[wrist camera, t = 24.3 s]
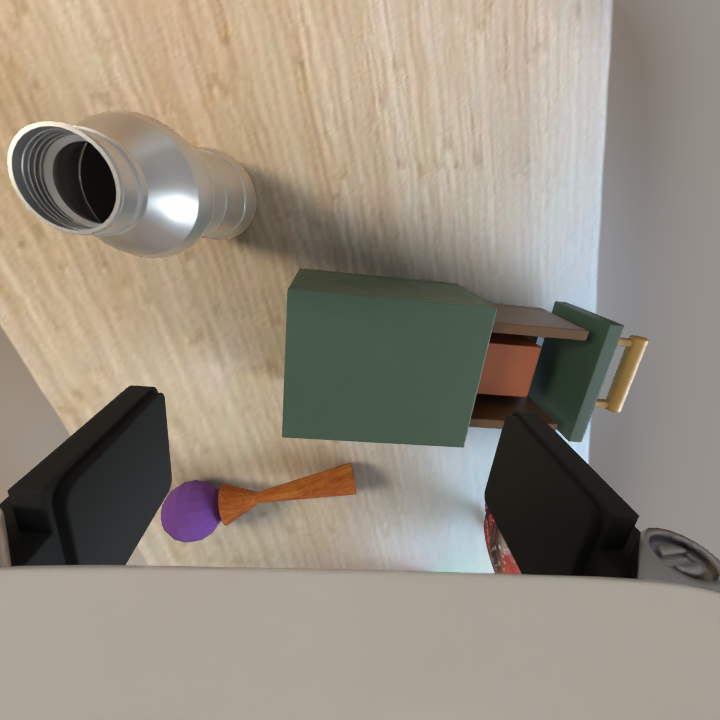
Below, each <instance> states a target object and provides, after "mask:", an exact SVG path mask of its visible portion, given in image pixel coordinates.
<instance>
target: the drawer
mask: <svg viewBox="0 0 720 720" xmlns="http://www.w3.org/2000/svg"><path fill="white" fill-rule="evenodd" d="M489 304H491V305H492V306H494V307H496V308H497V311H496V316H495V320H494V324H493V328H492V332H493V333H504V334H516V335H523V336H525V337H526V338H528V339H529V340H531V341H532V342H534V343H535V344H536V341H537V338H538V336H539V337H545V338H544V341H543V345H542V348H541V352H540V355H539V358H538V362H537V365H536V368H535V372H534V375H533V379H532V382H531V385H530V389H529V392H528V395H527V397H518V396H504V395H490V394H476V399H475V403H474V407H473V411H472V415H471V419H470V424H469V427H482V428H498V429H502V428H503V425H504V421H505V418H506V417H507V416H511V414H512V413H513V412H514V411H523V412H536V413H537V414H538V415H539V416H540V417H541V418H542V419H543V420H544V421H545V422H546V423H547V424H548V425H549V426H550V427H551V428H552V429H553V430H554V431H556V429H557V430H558V431H559V432H560V433H561V434H562V435H563V436H564V437H565V438H566V439H567V440H568V441H573V442H582V439H583V437H584V434H585V431H586V429H587V426H588V423H589V420H590V418H591V415H592V412H593V410H594V407H604V408H605V409H607V410H609V411H612V412H620V411H621V409H622V407H623V404H624V401H625V399H626V397H627V394H628V392H629V389H630V386H631V384H632V381H633V379H634V376H635V374H636V371H637V369H638V366H639V364H640V361H641V359H642V356H643V354H644V351H645V349H646V346H647V344H648V341H649V340H648V339H646V338H644V337H640V336H633V335H632V336H630V337H629V338H620V337H621V334H622V331H623V329H624V326H623V325H621V324H619V323H616V322H614V321H611V320H609V319H607V318H604V317H602V316H599V315H597V314H594V313H592V312H589V311H587V310H584V309H582V308H579V307H577V306H574V305H572V304H569V303H567V302H557V301H556V302H555V304H554V307H553V311H552V313H550V312H548V311H546V310H544V309H542V308H535V307H524V306H514V305H503V304H493V303H489ZM617 346H626V348H625V350H624V353H623V356H622V358H621V361H620V364H619V366H618V369H617V371H616V374H615V377H614V379H613V382H612V385H611V387H610V390H609V392H608V396H607V398H606V400H604V399H598V396H599V393H600V391H601V388H602V385H603V383H604V380H605V377H606V374H607V372H608V369H609V366H610V363H611V361H612V358H613V356H614V353H615V350H616V347H617Z"/></svg>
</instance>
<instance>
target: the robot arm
mask: <svg viewBox="0 0 720 720" xmlns="http://www.w3.org/2000/svg"><path fill="white" fill-rule="evenodd" d="M171 481H172V474H171V463H170V452H169V440H168V429H167V418H166V406H165V397H164V395H163V393H158V391H157V389H156V388H155V387H146V386H129V387H128V388H126V389H125V390H124V391H123V392H122V393H121V394H119V395H118V396H117V397H116V398H115V399H114V400H112V401H111V402H110V403H109V404H108V405H107V406H105V407H104V408H103V409H102V410H101V411H100V412H98V413H97V414H96V415H95V416H94V417H93V418H91V419H90V420H89V421H88V422H87V423H86V424H84V425H83V426H82V427H81V428H80V429H79V430H77V431H76V432H75V433H74V434H73V435H72V436H70V437H69V438H68V439H67V440H66V441H65V442H64V443H62V445H60V446H59V447H58V448H57V449H55V450H54V451H53V452H52V453H51V454H50V455H48V456H47V457H46V458H45V459H44V460H43V461H41V462H40V463H39V464H38V465H37V466H36V467H35V468H33V469H32V470H31V471H30V472H29V473H28V474H26V475H25V476H24V477H23V478H22V479H20V480H19V481H18V482H17V483H16V484H15V485H13V486H12V487H11V488H10V489H9V490H8V494H9V497H7V498H6V499H5V500H4V501H3V502H2V503H1V504H0V720H720V561H719V559H718V558H716V557H715V556H714V555H713V554H711V553H710V552H709V551H708V550H707V549H705V548H704V547H702V546H701V545H699V544H698V543H696V542H695V541H693V540H690V539H688V538H687V537H685V536H683V535H681V534H678V533H675V532H672V531H669V530H666V529H660V528H648V529H645V530H643V531H642V532H640V531H639V530H638V529H637V528H636V527H635V524H636V522H637V519H638V517H639V515H638V514H637V513H636V512H635V511H634V510H633V509H632V508H631V507H630V506H629V505H628V504H627V503H626V502H625V501H624V500H623V499H622V498H621V497H620V496H619V495H618V494H617V493H616V492H615V491H614V490H613V489H612V488H611V487H610V486H609V485H608V484H607V483H606V482H605V481H604V480H603V479H602V478H601V477H600V476H599V475H598V474H597V473H596V472H595V471H594V470H593V469H592V468H591V467H590V466H589V465H588V464H587V463H586V462H585V461H584V460H583V459H582V458H581V457H580V456H579V455H578V454H577V453H576V452H575V451H574V450H573V449H572V448H571V447H570V446H569V445H568V444H567V443H566V442H565V441H564V440H563V439H562V438H561V437H560V436H559V435H558V434H557V433H556V432H555V431H554V430H553V429H552V428H551V427H550V426H549V425H548V424H547V423H546V422H545V421H544V420H543V419H542V418H541V417H540V416H539V415H538V414H537V413H536V412H523V411H514V412H513V413H512V414H511V416H507V417H506V418H505V421H504V425H503V428H502V432H501V435H500V439H499V443H498V446H497V450H496V453H495V457H494V461H493V464H492V468H491V471H490V475H489V479H488V482H487V486H486V489H485V503H486V505H487V507H488V509H489V511H490V513H491V515H492V517H493V519H494V521H495V523H496V525H497V527H498V529H499V531H500V533H501V535H502V537H503V539H504V541H505V543H506V545H507V546H508V548H509V550H510V552H511V554H512V556H513V558H514V560H515V562H516V564H517V566H518V568H519V570H520V572H521V574H495V573H459V572H421V571H381V570H339V569H295V568H246V567H192V566H136V565H133V566H132V565H126V563H127V561H128V560H129V558H130V556H131V555H132V553H133V551H134V549H135V548H136V546H137V544H138V543H139V541H140V539H141V538H142V536H143V534H144V533H145V531H146V529H147V527H148V526H149V524H150V522H151V521H152V519H153V517H154V516H155V514H156V512H157V510H158V509H159V507H160V505H161V504H162V502H163V500H164V499H165V497H166V495H167V494H168V492H169V489H170V486H171Z"/></svg>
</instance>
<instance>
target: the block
mask: <svg viewBox="0 0 720 720" xmlns="http://www.w3.org/2000/svg"><path fill="white" fill-rule="evenodd" d="M540 351H541V347H540V346H538V345H537V344H535V343H534V342H532V341H531V340H529V339H528V338H526V337H525V336H523V335H516V334H504V333H493V332H491V336H490V340H489V345H488V349H487V353H486V357H485V361H484V365H483V370H482V374H481V378H480V382H479V386H478V390H477V394H490V395H504V396H518V397H527V395H528V392H529V388H530V385H531V381H532V378H533V375H534V371H535V368H536V364H537V361H538V358H539V354H540Z"/></svg>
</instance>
